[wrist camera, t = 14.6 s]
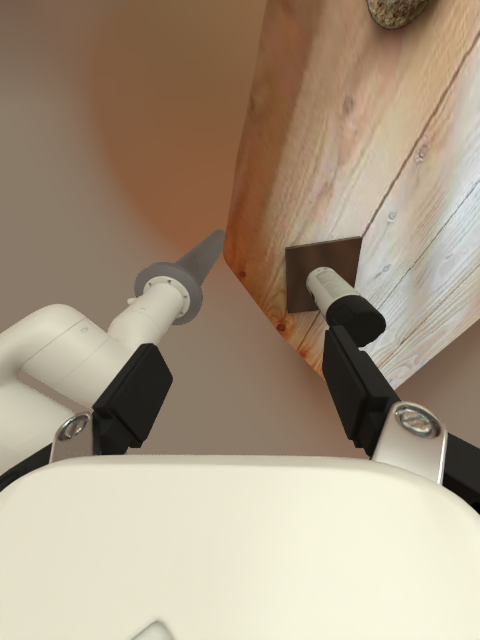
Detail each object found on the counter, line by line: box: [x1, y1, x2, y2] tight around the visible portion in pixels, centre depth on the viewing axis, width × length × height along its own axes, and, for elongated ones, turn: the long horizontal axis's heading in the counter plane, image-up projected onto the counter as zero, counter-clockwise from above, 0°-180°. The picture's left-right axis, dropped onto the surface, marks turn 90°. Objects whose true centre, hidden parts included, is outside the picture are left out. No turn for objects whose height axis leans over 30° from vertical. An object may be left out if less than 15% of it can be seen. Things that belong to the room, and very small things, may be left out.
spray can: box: [306, 267, 386, 348], centre depth 35 cm, size 7×7×20 cm
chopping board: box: [285, 236, 362, 313], centre depth 44 cm, size 15×16×2 cm
